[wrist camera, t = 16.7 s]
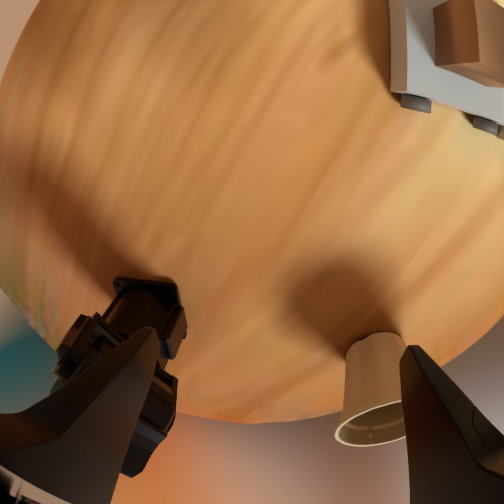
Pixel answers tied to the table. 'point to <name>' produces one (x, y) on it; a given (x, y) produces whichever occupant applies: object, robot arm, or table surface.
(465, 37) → the block
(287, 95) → the table surface
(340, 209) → the table surface
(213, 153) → the table surface
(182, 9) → the table surface
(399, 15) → the cart
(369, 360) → the flower pot
